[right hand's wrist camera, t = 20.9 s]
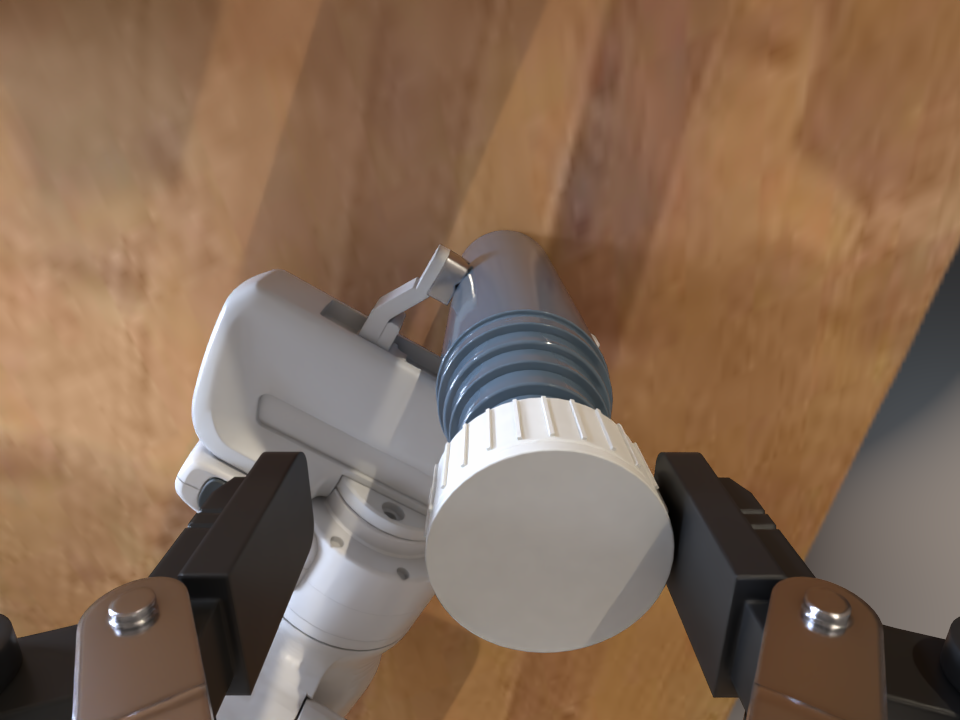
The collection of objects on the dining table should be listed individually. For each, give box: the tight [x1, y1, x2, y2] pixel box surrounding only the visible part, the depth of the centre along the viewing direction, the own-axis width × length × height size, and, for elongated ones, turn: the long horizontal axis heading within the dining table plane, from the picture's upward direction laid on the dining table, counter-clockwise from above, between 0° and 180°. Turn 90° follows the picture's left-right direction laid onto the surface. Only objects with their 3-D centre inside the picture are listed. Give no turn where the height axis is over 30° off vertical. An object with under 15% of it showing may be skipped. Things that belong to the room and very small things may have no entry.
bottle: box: [436, 230, 613, 443], centre depth 21 cm, size 5×5×21 cm
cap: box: [424, 396, 674, 653], centre depth 11 cm, size 4×4×2 cm
